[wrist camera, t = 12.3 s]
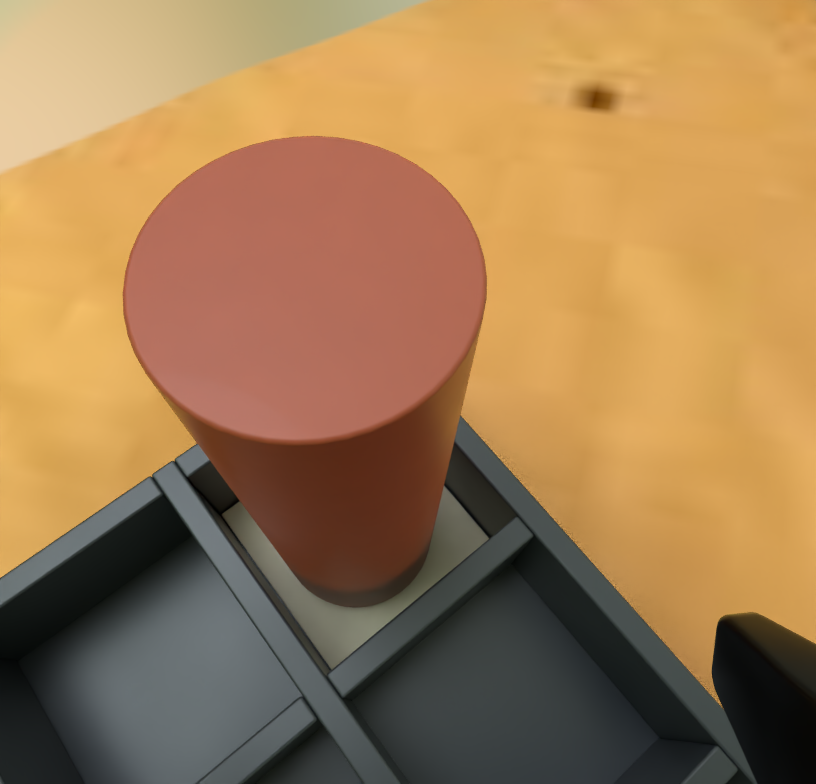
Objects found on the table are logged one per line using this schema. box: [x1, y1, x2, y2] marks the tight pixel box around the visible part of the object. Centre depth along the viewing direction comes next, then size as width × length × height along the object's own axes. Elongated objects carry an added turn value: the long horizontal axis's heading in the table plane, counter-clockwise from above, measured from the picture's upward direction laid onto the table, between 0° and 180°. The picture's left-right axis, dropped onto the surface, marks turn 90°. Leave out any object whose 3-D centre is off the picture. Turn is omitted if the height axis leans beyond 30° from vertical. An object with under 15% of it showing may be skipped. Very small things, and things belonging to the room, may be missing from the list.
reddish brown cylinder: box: [123, 136, 487, 607], centre depth 13 cm, size 4×4×12 cm
